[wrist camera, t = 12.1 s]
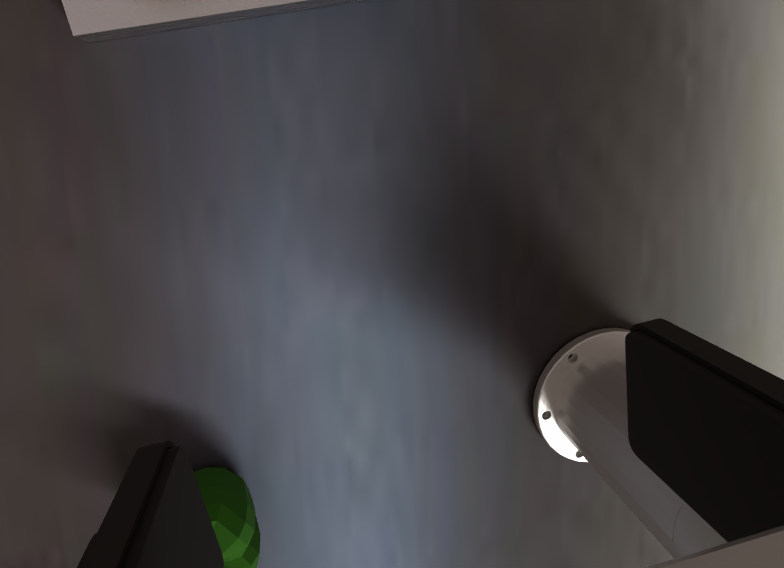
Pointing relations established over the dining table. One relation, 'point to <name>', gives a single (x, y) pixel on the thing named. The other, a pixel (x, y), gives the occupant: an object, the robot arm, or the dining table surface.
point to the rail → (169, 14)
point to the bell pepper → (231, 516)
